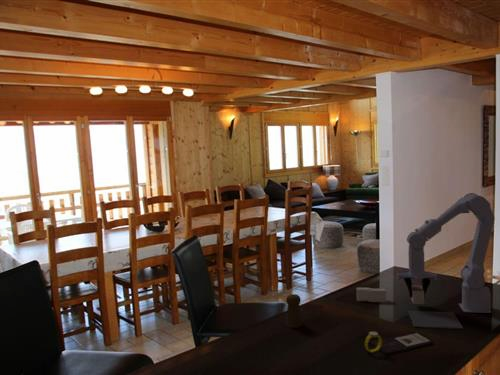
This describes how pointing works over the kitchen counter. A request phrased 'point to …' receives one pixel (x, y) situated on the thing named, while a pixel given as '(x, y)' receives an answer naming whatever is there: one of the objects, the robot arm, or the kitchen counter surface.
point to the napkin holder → (371, 295)
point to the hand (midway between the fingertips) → (417, 297)
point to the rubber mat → (435, 320)
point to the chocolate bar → (401, 343)
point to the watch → (371, 334)
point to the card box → (417, 294)
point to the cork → (293, 311)
